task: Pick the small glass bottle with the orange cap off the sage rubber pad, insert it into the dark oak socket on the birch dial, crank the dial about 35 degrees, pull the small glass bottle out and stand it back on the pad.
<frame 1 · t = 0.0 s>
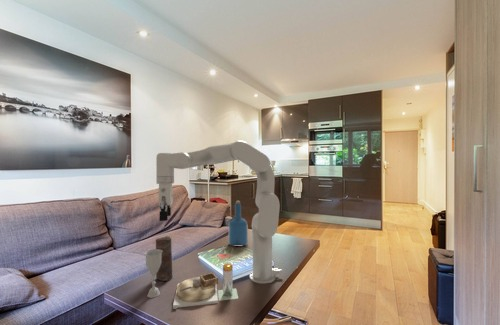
hand: (165, 218, 107), 31 cm above the table, tool pointing down, fingers open, 9 cm apart
chalice: (153, 294, 101), on the table
dial: (197, 284, 101), point 4 cm above the table, hinge at 0.0°
small glass bottle: (227, 294, 100), resting on pad
candle: (164, 278, 115), on the table
pad: (227, 295, 100), on the table
wine bottle: (237, 244, 164), on the table
dial base: (196, 294, 101), on the table
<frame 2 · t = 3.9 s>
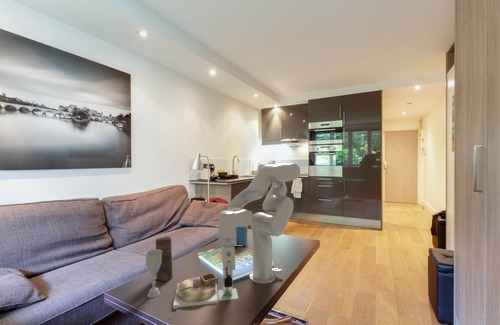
hand: (227, 283, 100), 5 cm above the table, tool pointing down, fingers closed on small glass bottle, 4 cm apart
small glass bottle: (227, 294, 100), resting on pad, touching gripper
everything else where it was.
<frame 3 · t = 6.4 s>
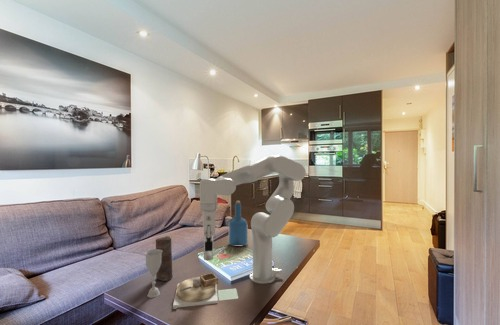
hand: (208, 248, 103), 19 cm above the table, tool pointing down, fingers closed on small glass bottle, 4 cm apart
small glass bottle: (208, 258, 103), point 14 cm above the table, touching gripper
everything else where it was.
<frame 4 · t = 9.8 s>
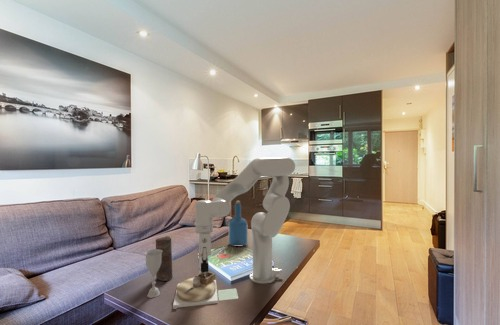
hand: (204, 268, 105), 9 cm above the table, tool pointing down, fingers closed on small glass bottle, 4 cm apart
dial: (197, 284, 101), point 4 cm above the table, hinge at 27.7°, touching small glass bottle
small glass bottle: (204, 279, 105), point 4 cm above the table, touching dial, gripper
everything else where it was.
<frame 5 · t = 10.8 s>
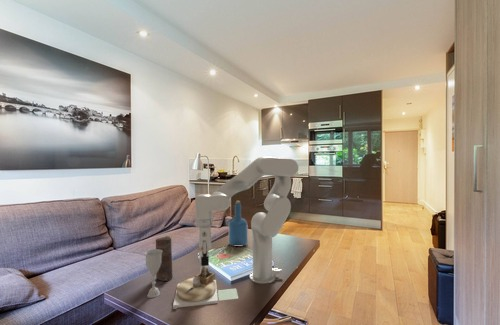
hand: (205, 262, 106), 11 cm above the table, tool pointing down, fingers closed on small glass bottle, 4 cm apart
dial: (197, 284, 101), point 4 cm above the table, hinge at 29.1°
small glass bottle: (204, 273, 106), point 7 cm above the table, touching gripper
everything else where it was.
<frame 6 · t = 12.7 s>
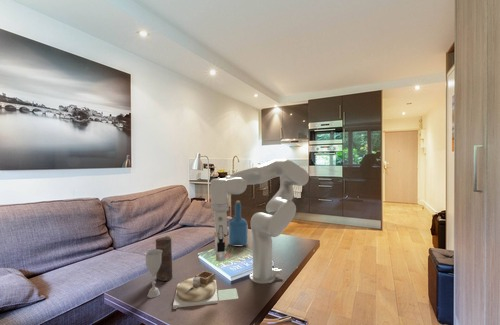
hand: (221, 249, 102), 19 cm above the table, tool pointing down, fingers closed on small glass bottle, 4 cm apart
small glass bottle: (220, 259, 102), point 14 cm above the table, touching gripper
everything else where it was.
when the fingers open (6 cm above the table, at t = 15.8 s): small glass bottle stays where it is, resting on pad.
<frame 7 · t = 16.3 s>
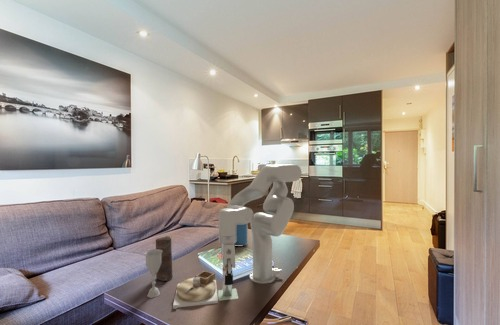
hand: (227, 279, 100), 7 cm above the table, tool pointing down, fingers open, 9 cm apart
small glass bottle: (227, 294, 100), point 1 cm above the table, touching pad
everything else where it was.
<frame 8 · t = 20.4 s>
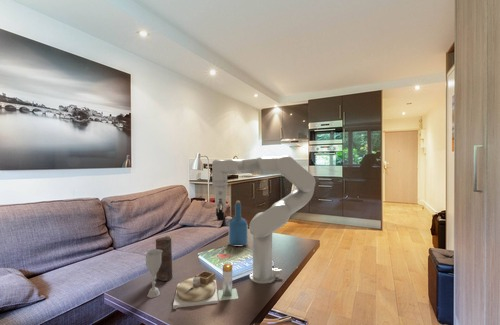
hand: (219, 218, 120), 28 cm above the table, tool pointing down, fingers open, 9 cm apart
nothing on the table moved.
at the end: dial at +29° (first picture: +0°); small glass bottle 0.2 cm off-centre on the pad, point 0.6 cm above the pad's base; small glass bottle tilted 2° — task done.
